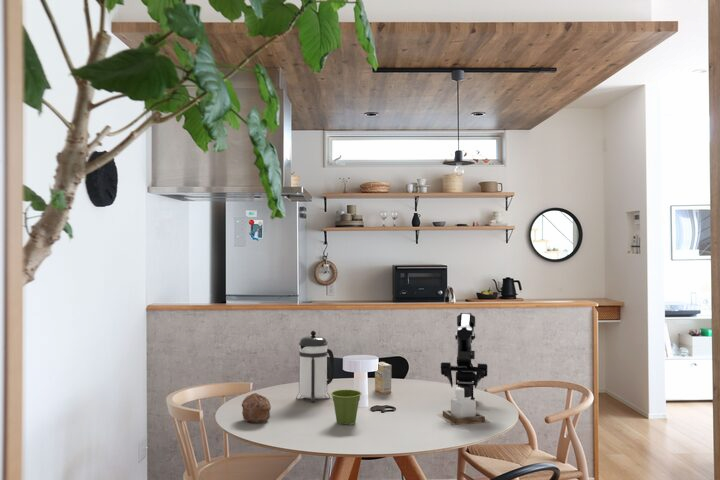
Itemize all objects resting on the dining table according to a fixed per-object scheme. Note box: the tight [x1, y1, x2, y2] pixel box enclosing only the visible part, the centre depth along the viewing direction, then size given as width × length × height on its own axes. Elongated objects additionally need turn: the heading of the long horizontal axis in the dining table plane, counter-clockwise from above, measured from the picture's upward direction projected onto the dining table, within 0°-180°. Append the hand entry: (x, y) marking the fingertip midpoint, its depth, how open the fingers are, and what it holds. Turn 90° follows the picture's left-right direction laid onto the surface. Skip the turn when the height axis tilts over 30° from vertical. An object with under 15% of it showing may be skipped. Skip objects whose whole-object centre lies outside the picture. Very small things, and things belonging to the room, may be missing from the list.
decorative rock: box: [241, 392, 272, 424], centre depth 244 cm, size 13×11×10 cm
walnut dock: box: [436, 409, 491, 426], centre depth 247 cm, size 16×16×3 cm
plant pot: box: [330, 389, 363, 425], centre depth 241 cm, size 12×12×11 cm
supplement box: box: [374, 361, 392, 395], centre depth 293 cm, size 8×5×13 cm, turn 25°
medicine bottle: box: [450, 386, 477, 418], centre depth 248 cm, size 7×7×12 cm
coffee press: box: [295, 330, 335, 404], centre depth 280 cm, size 17×16×30 cm
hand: (463, 387), depth 251 cm, fingers open, 9 cm apart
